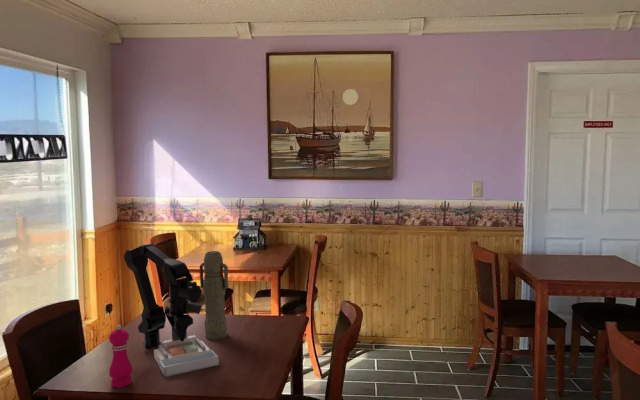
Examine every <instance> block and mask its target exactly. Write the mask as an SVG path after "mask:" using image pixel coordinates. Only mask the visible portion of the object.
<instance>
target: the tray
mask: <svg viewBox="0 0 640 400" xmlns="http://www.w3.org/2000/svg"><path fill="white" fill-rule="evenodd" d="M219 365H220V357H219V355H217V354H216V353H215V351H214V350H213V349H210V352H205V353H200V354H195V355H190V356H186V357H181V358H176V359H171V360H166V361H161V360H159V364H158V367H159V370H160V372H161V373H162V375H163V377H164V378H167V377H171V376H177V375H180V374H185V373H189V372H195V371H199V370H203V369H208V368H212V367H218V366H219Z"/></svg>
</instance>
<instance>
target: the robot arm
mask: <svg viewBox="0 0 640 400" xmlns="http://www.w3.org/2000/svg"><path fill="white" fill-rule="evenodd" d="M123 259H124V262H125V263H126V267H127V268H128V269H129V270H130V271H131V272H132V273H133V276H134V278H135V282H136V286H137V290H138V293H139V296H140V300H141V302H142V306H143V309H142V313H141V322H140V324H139V325H138V326H137V329H138V332H139V333H141V334H144V335H143V337H144V342H142V346H143V348H144V349H145V350H149V349H154V348H155V349H156V348H158V345H162V346H163V342H161V338H160V337H161V336H160V330H163V329H165V325H166V320H168V323H169V324H170V326H171V328H172V326H174V327H175V329H176V331H177V334H178V336H179V338H180V340H181V341H184V338H185V334H186V330H187V329H188V328H189V327H190V326H192V325H193V324H194V318H193V317H192V316H191V315H190V314H189V313H194V314H197V315H200V314H201V310H202V304H200V303H199V302H197V301H199V300H200V298H201V296H202V292H203V290H202V288H201V286H199V285H198V284H197V281H194V277H193V275H192V274H191V273H190V272H191V271H190V270H189V268H188V267H187V264H186V263H185V262H184V261H181V260H179V259H175V258H171V257H169V256H168V254H167V255H166V254H165V253H164V252H163V251H161V249H159V248H157V247H156V246H155V244H154V243H146V244H145V243H143V244H141V245H139V246H138V247H136V248H133V249H128V250H126V251H125V252H124V255H123ZM149 260H150V261H151V262H152V263H153V264H155V265H156V266H158V267H159V268H160V269H161V270H162V274H163V275H164V276H165V278H166V279H167V280H166V281H165V284H166V285H168V288H169V289H168V291H169V292H168V293H169V298H168V303H169V305H167V306H166V307H165V308H164V306H163V305H161V306H160V305H159V304H158V303H157V300H156V298H155V294H154V291H153V287H152V284H151V280H150V277H149V273H148V269H147V267H148V263H149Z"/></svg>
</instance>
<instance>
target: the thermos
mask: <svg viewBox="0 0 640 400" xmlns="http://www.w3.org/2000/svg"><path fill="white" fill-rule="evenodd" d="M223 262H224V259H223V256H222V253H221V252H220V251H218V250H214V251H213V250H210V251H207V252H206V253H205V255H204V259H203V262H201V264H200V265H199V283H200V284H199V285H200V288H201V289H202V292H203V297H204V306H205V307H204V308H205V318H204V333H205V339H207V340H212V341H213V340H214V341H216V340H222V339H225V338H226V337H227V331H228V325H227V323H228V321H227V317H226V304H225V301H226V300H225V295H226V290H227V289H228V288H229V267H228V265H227V264H226V263H223Z"/></svg>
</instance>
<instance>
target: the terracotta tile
mask: <svg viewBox="0 0 640 400" xmlns="http://www.w3.org/2000/svg"><path fill="white" fill-rule="evenodd" d="M169 353H170V355H171V356H176V355H181V354H184V350H183V348H182V347H176V348H171V349H169Z"/></svg>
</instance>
